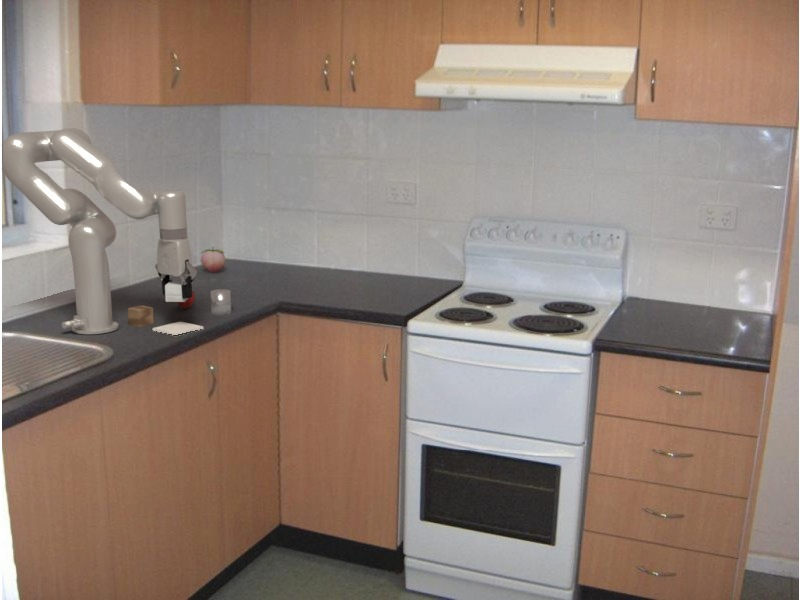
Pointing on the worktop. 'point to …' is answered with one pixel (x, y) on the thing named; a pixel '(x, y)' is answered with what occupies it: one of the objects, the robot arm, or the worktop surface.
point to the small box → (174, 292)
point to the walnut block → (140, 316)
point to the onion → (187, 302)
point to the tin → (220, 302)
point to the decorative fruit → (213, 259)
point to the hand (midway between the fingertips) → (177, 295)
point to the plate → (177, 328)
